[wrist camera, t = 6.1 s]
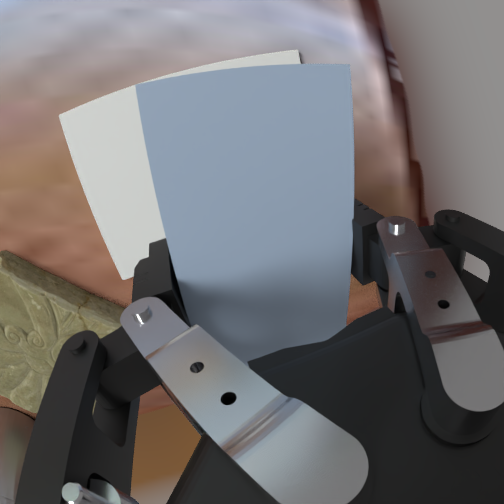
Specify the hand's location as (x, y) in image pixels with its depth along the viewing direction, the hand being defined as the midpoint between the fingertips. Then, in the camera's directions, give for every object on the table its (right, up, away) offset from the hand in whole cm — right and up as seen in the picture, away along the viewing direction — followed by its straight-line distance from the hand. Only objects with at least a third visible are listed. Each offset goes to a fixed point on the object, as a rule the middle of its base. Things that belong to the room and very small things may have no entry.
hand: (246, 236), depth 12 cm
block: (0, 0, +1) cm, 1 cm away
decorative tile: (-22, -11, +16) cm, 30 cm away
